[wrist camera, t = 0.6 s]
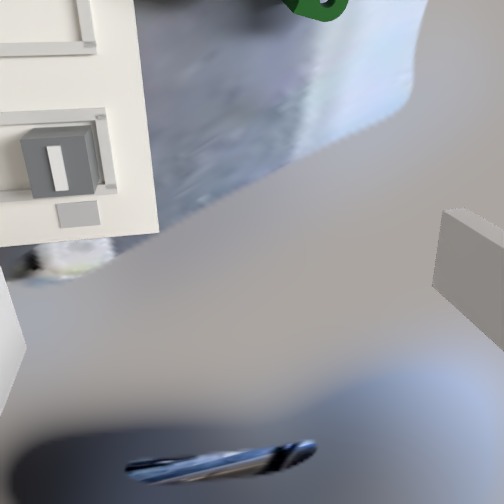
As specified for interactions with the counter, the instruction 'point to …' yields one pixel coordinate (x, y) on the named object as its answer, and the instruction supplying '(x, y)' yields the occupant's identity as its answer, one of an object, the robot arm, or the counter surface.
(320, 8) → the green notched bracket
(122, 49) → the switch board
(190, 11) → the counter surface
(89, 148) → the grey cube
